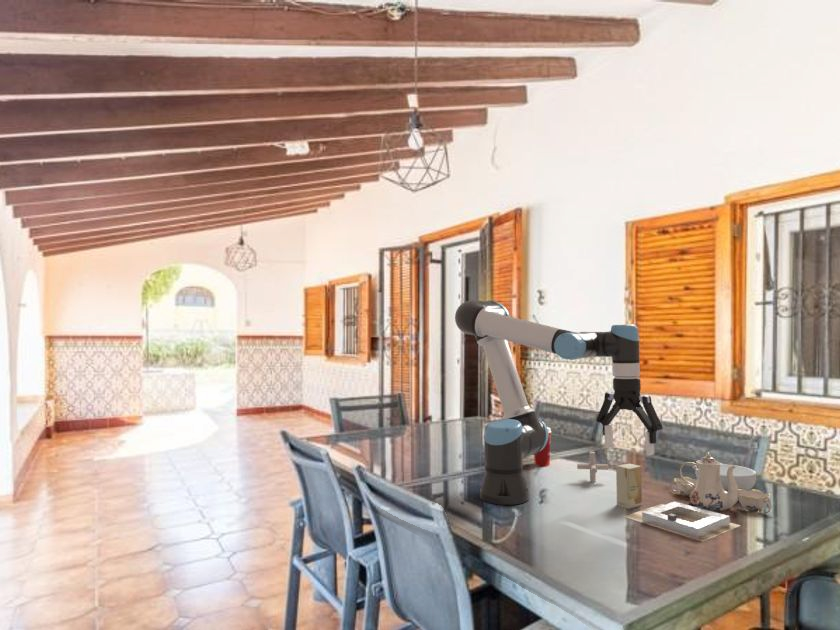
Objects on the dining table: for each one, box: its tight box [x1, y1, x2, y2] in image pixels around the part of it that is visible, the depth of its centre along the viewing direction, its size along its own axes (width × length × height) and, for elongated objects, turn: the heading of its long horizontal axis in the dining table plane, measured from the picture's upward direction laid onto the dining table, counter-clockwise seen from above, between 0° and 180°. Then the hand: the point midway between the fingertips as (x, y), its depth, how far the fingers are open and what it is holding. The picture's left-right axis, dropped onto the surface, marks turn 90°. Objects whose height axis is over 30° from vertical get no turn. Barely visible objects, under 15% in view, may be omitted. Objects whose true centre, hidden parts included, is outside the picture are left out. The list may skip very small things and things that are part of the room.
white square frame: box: [641, 501, 731, 540], centre depth 143 cm, size 15×15×4 cm
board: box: [622, 503, 742, 542], centre depth 145 cm, size 18×22×1 cm
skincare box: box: [615, 463, 643, 510], centre depth 159 cm, size 6×4×12 cm
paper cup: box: [533, 426, 552, 467], centre depth 211 cm, size 8×8×14 cm
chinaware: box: [669, 452, 772, 514], centre depth 159 cm, size 28×17×17 cm, turn 44°
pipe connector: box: [576, 451, 609, 484], centre depth 187 cm, size 10×10×10 cm
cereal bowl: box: [694, 463, 757, 492], centre depth 174 cm, size 17×17×7 cm
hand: (629, 451), depth 159 cm, fingers open, 13 cm apart
